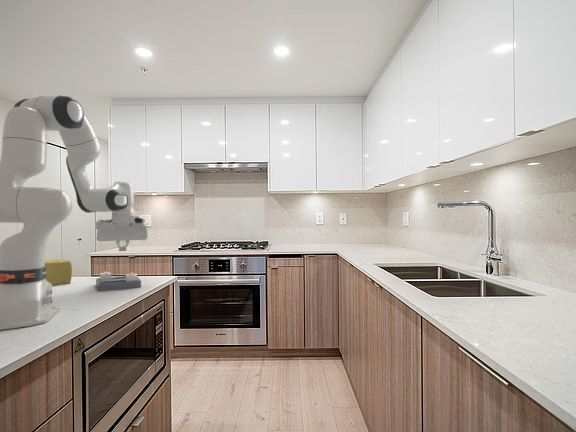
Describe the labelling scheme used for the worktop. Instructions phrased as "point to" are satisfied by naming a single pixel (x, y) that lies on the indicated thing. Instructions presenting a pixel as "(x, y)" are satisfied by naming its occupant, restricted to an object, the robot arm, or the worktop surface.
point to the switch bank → (116, 283)
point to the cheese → (58, 271)
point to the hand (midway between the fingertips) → (122, 250)
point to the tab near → (131, 277)
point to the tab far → (105, 276)
